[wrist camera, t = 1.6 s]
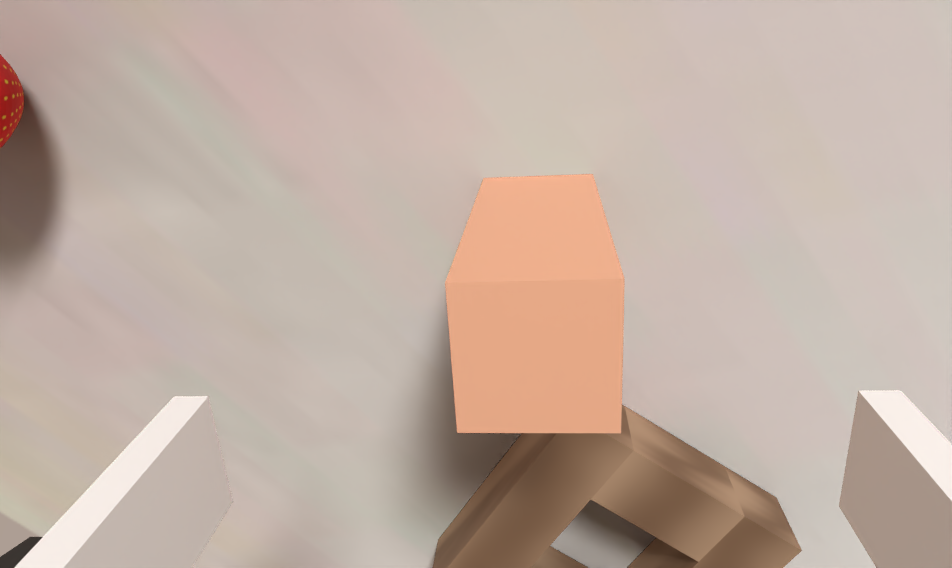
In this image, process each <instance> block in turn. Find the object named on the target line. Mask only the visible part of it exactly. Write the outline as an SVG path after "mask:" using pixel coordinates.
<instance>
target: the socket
mask: <svg viewBox="0 0 952 568" xmlns="http://www.w3.org/2000/svg"><path fill="white" fill-rule="evenodd" d="M590 500H592V501H594V502H596V503H598V504H599V505H601V506H603V507H605V508H606V509H608V510H610V511H611V512H613V513H615V514H617V515H618V516H620V517H622V518H624V519H625V520H627V521H629V522H630V523H632V524H634V525H636V526H637V527H639V528H641V529H643V530H644V531H646V532H648V533H649V534H651V535H653V536H655V537H656V538H655V539H654V540H653V542H652V543H651V544H650V545H649V546H648V547H647V548H646V549H645V550H644V551H643V552H642V553H641V554H640V555H639V556H638V557H637V558H636V559H635V560H634V561H633V562H632V563H631V564H630V565H629V566H628V567H627V568H783V567H784V566H785V565H787V564H788V563H789V562H790V561H791V560H792V559H793V558H794V557H795V556H796V555H797V554H799V553H800V552H801V551H802V550H801V548H800V546H799V544H798V542H797V539H796V537H795V535H794V533H793V531H792V529H791V527H790V525H789V523H788V521H787V519H786V517H785V514H784V512H783V510H782V508H781V506H780V504H779V502H778V500H777V498H776V497H774V496H773V495H771V494H769V493H768V492H766V491H765V490H763V489H761V488H760V487H758V486H756V485H755V484H753V483H751V482H750V481H748V480H746V479H745V478H743V477H741V476H740V475H738V474H736V473H735V472H733V471H731V470H730V469H728V468H726V467H725V466H723V465H721V464H720V463H718V462H716V461H715V460H713V459H711V458H710V457H708V456H707V455H705V454H703V453H702V452H700V451H698V450H697V449H695V448H693V447H692V446H690V445H688V444H687V443H685V442H683V441H682V440H680V439H678V438H677V437H675V436H673V435H672V434H670V433H668V432H667V431H665V430H663V429H662V428H660V427H658V426H657V425H655V424H653V423H652V422H650V421H649V420H647V419H645V418H644V417H642V416H640V415H639V414H637V413H635V412H634V411H632V410H630V409H629V408H627V407H625V406H624V405H622V413H621V433H522V434H521V435H520V436H519V438H518V439H517V440H516V441H515V443H514V444H513V445H512V446H511V448H510V449H509V450H508V452H507V453H506V454H505V455H504V457H503V458H502V459H501V460H500V462H499V463H498V464H497V466H496V467H495V468H494V469H493V471H492V472H491V473H490V474H489V476H488V477H487V478H486V480H485V481H484V482H483V483H482V485H481V486H480V487H479V488H478V490H477V491H476V492H475V494H474V495H473V496H472V497H471V499H470V500H469V501H468V502H467V504H466V505H465V506H464V508H463V509H462V510H461V511H460V513H459V514H458V515H457V516H456V518H455V519H454V520H453V522H452V523H451V524H450V525H449V527H448V528H447V529H446V530H445V532H444V533H443V534H442V536H441V537H440V538H439V539H438V544H437V549H436V554H435V559H434V564H433V568H588V567H586V566H584V565H583V564H581V563H579V562H577V561H576V560H574V559H572V558H570V557H569V556H567V555H565V554H563V553H561V552H560V551H558V550H556V549H554V548H553V547H551V546H550V545H551V544H552V543H553V542H554V541H555V539H556V538H557V537H558V536H559V535H560V534H561V533H562V531H563V530H564V529H565V528H566V527H567V526H568V525H569V524H570V522H571V521H572V520H573V519H574V518H575V517H576V516H577V514H578V513H579V512H580V511H581V510H582V509H583V508H584V507H585V505H586V504H587V503H588V502H589V501H590Z"/></svg>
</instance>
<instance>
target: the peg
mask: <svg viewBox="0 0 952 568" xmlns="http://www.w3.org/2000/svg"><path fill="white" fill-rule="evenodd" d="M445 287H446V300H447V312H448V325H449V337H450V350H451V363H452V375H453V388H454V400H455V413H456V425H457V433H621V413H622V368H623V323H624V276H623V273H622V269H621V266H620V263H619V259H618V256H617V253H616V249H615V246H614V243H613V240H612V236H611V233H610V230H609V226H608V223H607V220H606V216H605V213H604V210H603V207H602V203H601V200H600V197H599V193H598V190H597V187H596V184H595V180H594V177H593V174H582V175H554V176H527V177H500V178H483V181H482V184H481V187H480V189H479V192H478V195H477V197H476V200H475V203H474V206H473V208H472V211H471V214H470V216H469V219H468V222H467V225H466V227H465V230H464V233H463V236H462V238H461V241H460V244H459V246H458V249H457V252H456V255H455V257H454V260H453V263H452V265H451V268H450V271H449V274H448V276H447V279H446V282H445Z"/></svg>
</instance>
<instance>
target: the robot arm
mask: <svg viewBox="0 0 952 568" xmlns="http://www.w3.org/2000/svg"><path fill="white" fill-rule="evenodd" d="M232 503H233V499H232V495H231V490H230V486H229V482H228V477H227V473H226V469H225V465H224V460H223V456H222V452H221V447H220V443H219V439H218V434H217V430H216V426H215V422H214V417H213V413H212V409H211V404H210V400H209V396H174V397H173V398H172V399H171V400H170V401H169V403H168V404H167V405H166V406H165V407H164V408H163V409H162V410H161V411H160V412H159V413H158V414H157V415H156V416H155V418H154V419H153V420H152V421H151V422H150V423H149V424H148V425H147V426H146V427H145V428H144V429H143V430H142V431H141V433H140V434H139V435H138V436H137V437H136V438H135V439H134V440H133V441H132V442H131V443H130V444H129V445H128V446H127V448H126V449H125V450H124V451H123V452H122V453H121V454H120V455H119V456H118V457H117V458H116V459H115V460H114V461H113V463H112V464H111V465H110V466H109V467H108V468H107V469H106V470H105V471H104V472H103V473H102V474H101V475H100V476H99V477H98V479H97V480H96V481H95V482H94V483H93V484H92V485H91V486H90V487H89V488H88V489H87V490H86V491H85V492H84V494H83V495H82V496H81V497H80V498H79V499H78V500H77V501H76V502H75V503H74V504H73V505H72V506H71V507H70V509H69V510H68V511H67V512H66V513H65V514H64V515H63V516H62V517H61V518H60V519H59V520H58V521H57V522H56V524H55V525H54V526H53V527H52V528H51V529H50V530H49V531H48V532H47V533H46V534H45V535H44V536H43V537H29V538H28V539H27V540H25V541H24V542H22V543H20V544H19V545H18V546H16V547H14V548H13V549H12V550H10V551H9V552H7V553H6V554H4V555H3V556H1V557H0V568H193V566H194V565H195V563H196V561H197V560H198V558H199V556H200V555H201V553H202V552H203V550H204V548H205V547H206V545H207V543H208V542H209V540H210V539H211V537H212V535H213V534H214V532H215V530H216V529H217V527H218V526H219V524H220V522H221V521H222V519H223V517H224V516H225V514H226V513H227V511H228V509H229V508H230V506H231V504H232ZM839 507H840V509H841V510H842V512H843V513H844V515H845V517H846V518H847V520H848V522H849V523H850V525H851V527H852V528H853V530H854V532H855V533H856V535H857V536H858V538H859V540H860V541H861V543H862V545H863V546H864V548H865V550H866V551H867V553H868V555H869V556H870V558H871V559H872V561H873V563H874V564H875V566H876V568H952V444H951V443H950V442H949V441H948V440H947V439H946V438H945V437H944V436H943V435H942V433H941V432H940V431H939V430H938V429H937V428H936V427H935V426H934V425H933V424H932V423H931V422H930V421H929V420H928V419H927V418H926V417H925V416H924V415H923V414H922V413H921V411H920V410H919V409H918V408H917V407H916V406H915V405H914V404H913V403H912V402H911V401H910V400H909V399H908V398H907V397H906V396H905V395H904V394H903V393H902V392H901V391H900V390H880V391H858V397H857V402H856V408H855V414H854V420H853V426H852V432H851V438H850V444H849V450H848V456H847V461H846V467H845V473H844V479H843V485H842V491H841V497H840V503H839Z"/></svg>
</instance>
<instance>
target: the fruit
mask: <svg viewBox="0 0 952 568" xmlns="http://www.w3.org/2000/svg"><path fill="white" fill-rule="evenodd" d="M23 107H24V94H23V89H22V86H21V83H20V81H19V79H18V77H17V75H16V73H15V72H14V70H13V69H12V67H11V66H10V65H9V64H8V62H7V61H6V60H5V59H4V58H3V57H2V56H1V54H0V148H1V147H2V146H3V145H4V144H5V143H6V142H7V141H8V139H9V138H10V137H11V135H12V133H13V132H14V130H15V129H16V127H17V125H18V123H19V121H20V119H21V116H22V113H23Z"/></svg>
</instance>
